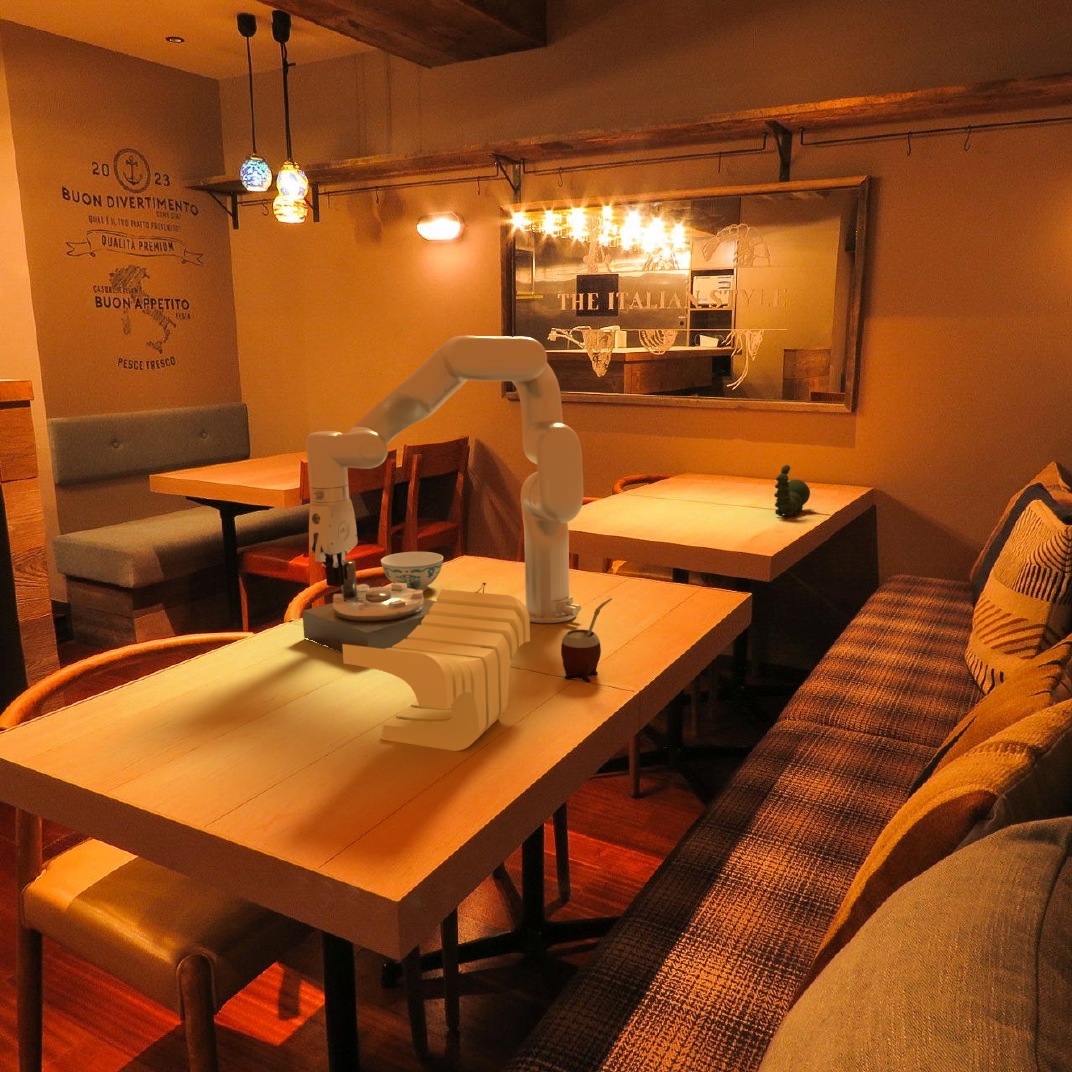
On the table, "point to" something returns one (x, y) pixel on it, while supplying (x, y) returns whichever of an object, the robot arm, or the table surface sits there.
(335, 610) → the round turntable with post
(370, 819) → the table surface
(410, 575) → the chinaware
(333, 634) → the housing
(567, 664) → the mate gourd
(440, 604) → the slatted curved stool
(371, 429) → the robot arm
